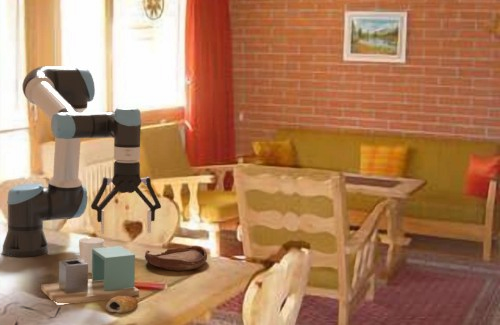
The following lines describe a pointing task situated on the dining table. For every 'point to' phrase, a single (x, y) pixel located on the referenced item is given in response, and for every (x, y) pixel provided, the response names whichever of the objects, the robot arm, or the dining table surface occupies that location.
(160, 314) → the dining table surface
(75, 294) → the pin board
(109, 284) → the housing cover
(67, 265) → the block
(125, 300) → the pastry
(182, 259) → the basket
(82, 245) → the white cup
